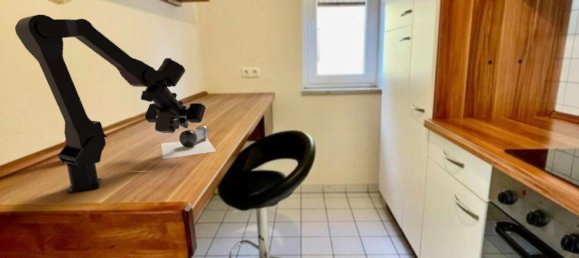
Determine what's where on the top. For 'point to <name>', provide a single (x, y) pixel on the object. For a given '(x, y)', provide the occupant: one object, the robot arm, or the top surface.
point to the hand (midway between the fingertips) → (186, 127)
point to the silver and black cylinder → (193, 136)
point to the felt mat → (186, 149)
